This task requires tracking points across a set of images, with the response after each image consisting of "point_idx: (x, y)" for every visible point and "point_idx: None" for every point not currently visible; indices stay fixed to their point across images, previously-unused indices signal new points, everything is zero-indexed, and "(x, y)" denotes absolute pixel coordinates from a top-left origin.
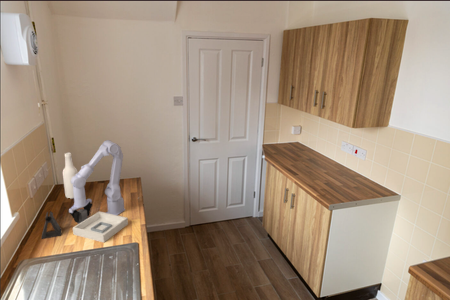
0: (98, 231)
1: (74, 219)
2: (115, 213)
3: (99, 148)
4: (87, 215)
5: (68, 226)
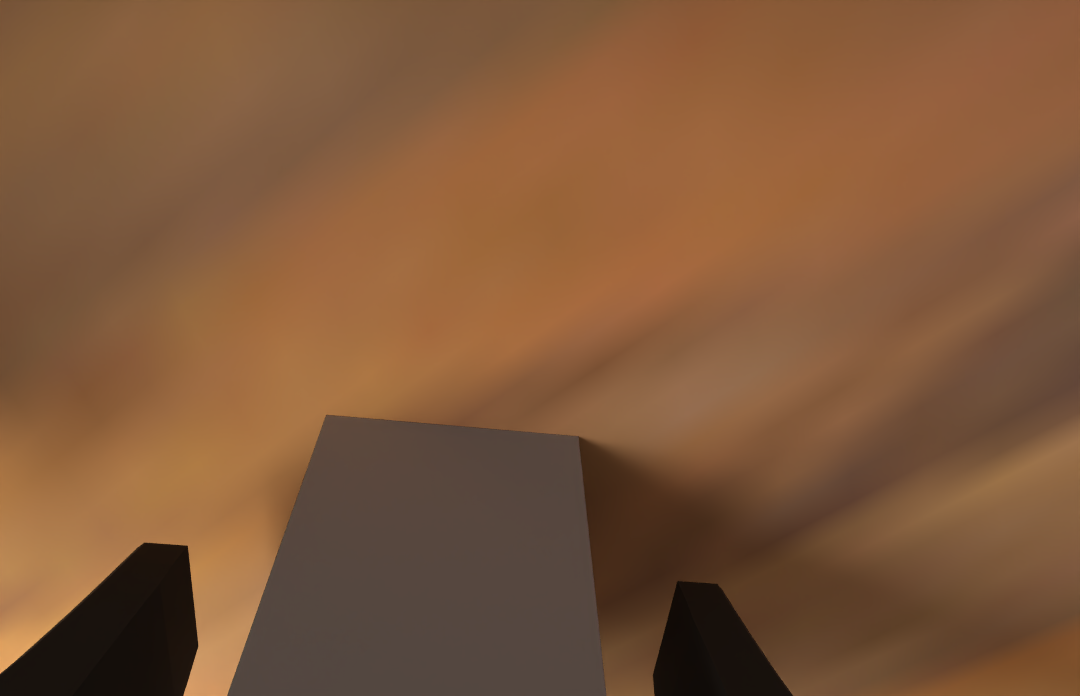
0: None
1: (75, 632)
2: None
3: None
4: (662, 682)
5: (5, 304)
